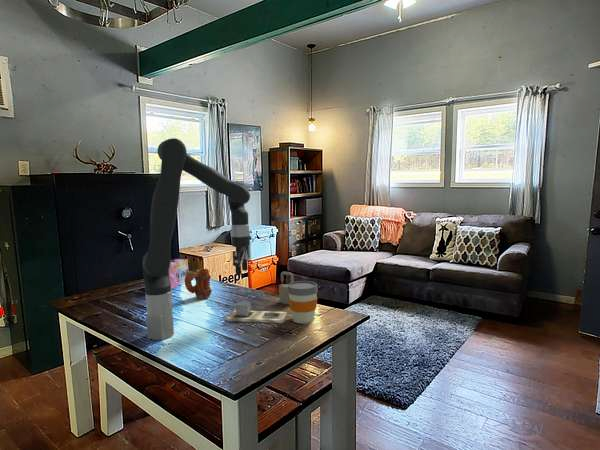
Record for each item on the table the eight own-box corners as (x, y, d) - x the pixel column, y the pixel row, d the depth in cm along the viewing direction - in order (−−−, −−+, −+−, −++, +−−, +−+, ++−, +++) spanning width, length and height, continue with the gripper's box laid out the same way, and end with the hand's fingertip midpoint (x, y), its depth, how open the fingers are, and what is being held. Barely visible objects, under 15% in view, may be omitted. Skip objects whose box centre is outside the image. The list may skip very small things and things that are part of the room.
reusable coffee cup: (321, 315, 163) (320, 281, 162) (314, 326, 151) (313, 289, 150) (293, 313, 167) (292, 280, 165) (284, 323, 155) (283, 288, 153)
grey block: (247, 319, 161) (247, 305, 160) (236, 318, 161) (235, 305, 161) (251, 315, 165) (250, 301, 165) (240, 314, 166) (239, 301, 166)
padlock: (283, 300, 185) (282, 270, 184) (297, 303, 181) (296, 272, 179) (278, 302, 182) (277, 271, 180) (291, 305, 177) (291, 274, 176)
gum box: (178, 279, 230) (177, 257, 228) (190, 280, 228) (189, 258, 226) (156, 291, 206) (154, 266, 205) (169, 291, 205) (167, 267, 203)
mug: (206, 293, 199) (204, 265, 198) (216, 296, 194) (214, 267, 192) (181, 300, 188) (180, 271, 186) (191, 304, 183) (189, 273, 181)
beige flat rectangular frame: (287, 314, 165) (287, 311, 165) (282, 323, 155) (282, 320, 155) (234, 312, 169) (234, 310, 169) (226, 321, 160) (226, 318, 159)
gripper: (243, 237, 152) (245, 277, 153) (253, 232, 166) (255, 268, 167) (225, 237, 153) (227, 276, 155) (237, 232, 167) (238, 268, 169)
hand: (241, 272), depth 161 cm, fingers open, 8 cm apart
